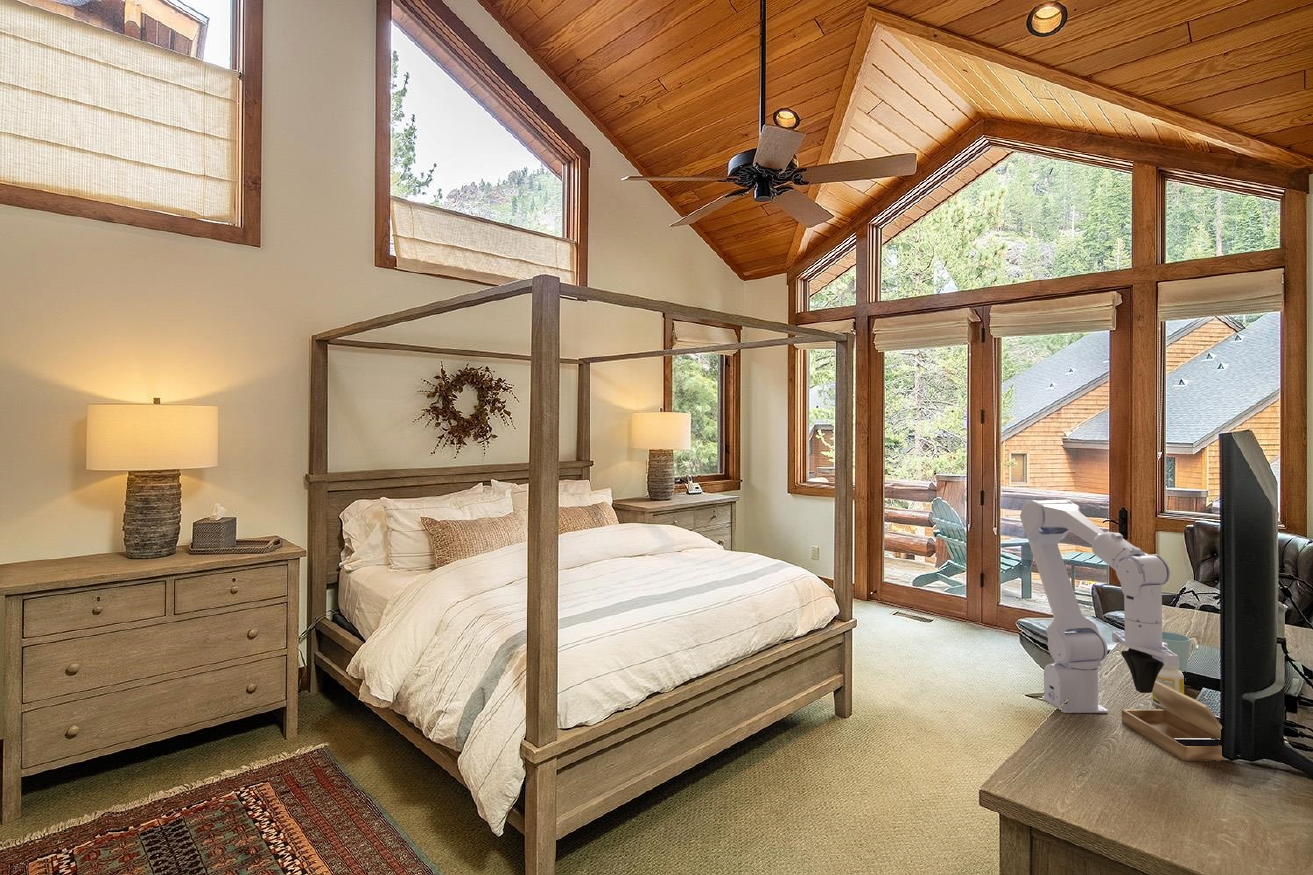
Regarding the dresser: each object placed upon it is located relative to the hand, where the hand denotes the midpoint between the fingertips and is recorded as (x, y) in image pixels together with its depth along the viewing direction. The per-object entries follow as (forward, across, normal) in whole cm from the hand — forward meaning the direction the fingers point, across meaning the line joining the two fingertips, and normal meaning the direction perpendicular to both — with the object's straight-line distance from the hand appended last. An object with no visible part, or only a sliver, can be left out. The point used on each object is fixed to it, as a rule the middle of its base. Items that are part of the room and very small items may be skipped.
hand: (1143, 691), depth 125 cm
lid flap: (+3, 0, -7) cm, 8 cm away
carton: (+9, 0, -6) cm, 11 cm away
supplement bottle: (+9, +16, -16) cm, 25 cm away
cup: (+9, +30, -28) cm, 42 cm away
